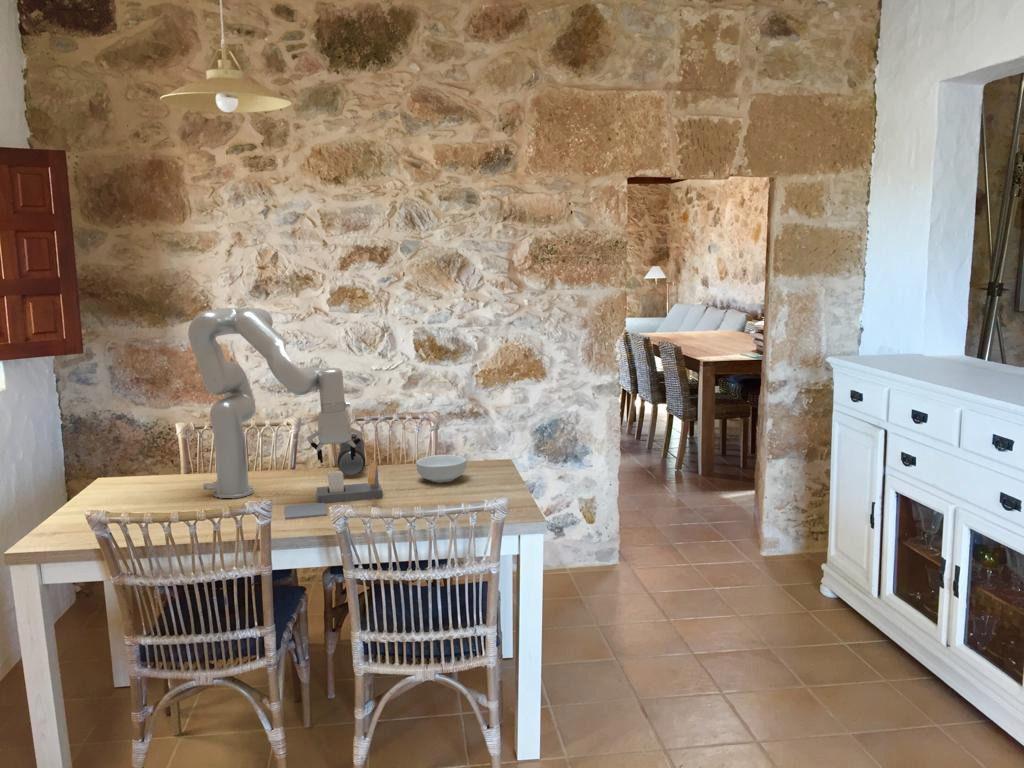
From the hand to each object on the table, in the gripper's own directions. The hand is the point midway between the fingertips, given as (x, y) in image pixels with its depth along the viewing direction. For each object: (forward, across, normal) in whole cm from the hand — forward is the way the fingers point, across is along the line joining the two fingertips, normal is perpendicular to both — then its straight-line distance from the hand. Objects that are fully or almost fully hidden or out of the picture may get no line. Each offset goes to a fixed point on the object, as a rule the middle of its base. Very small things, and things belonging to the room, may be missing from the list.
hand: (337, 460), depth 269 cm
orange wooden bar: (+4, -10, +8) cm, 14 cm away
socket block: (+12, -3, 0) cm, 13 cm away
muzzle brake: (+12, -7, -35) cm, 38 cm away
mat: (+12, +11, +12) cm, 20 cm away
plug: (+12, +1, 0) cm, 12 cm away
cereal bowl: (+13, -35, -10) cm, 39 cm away
